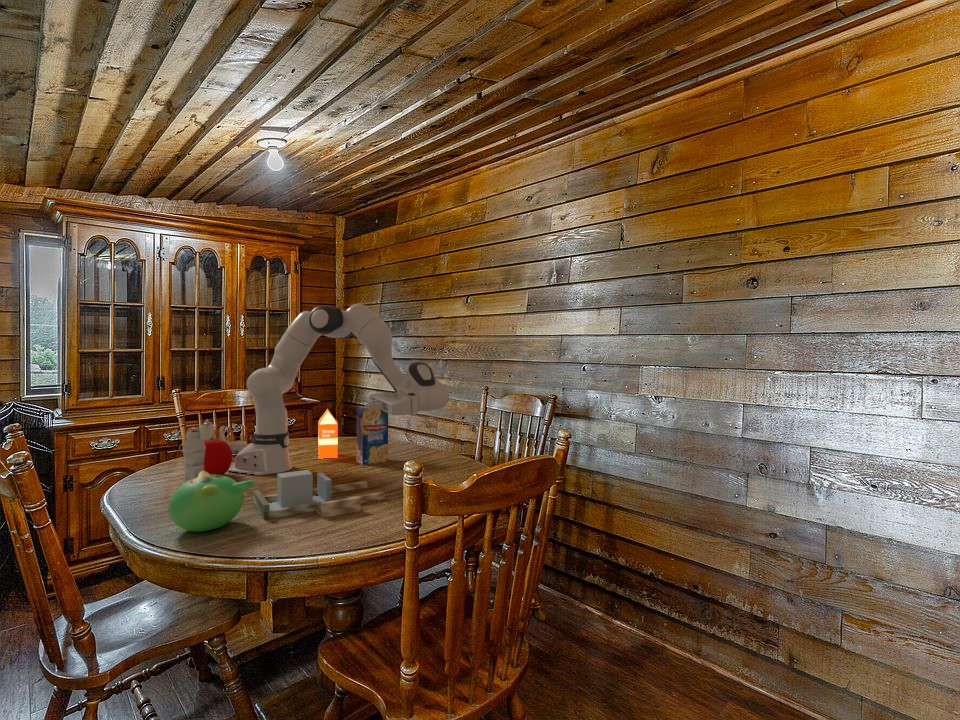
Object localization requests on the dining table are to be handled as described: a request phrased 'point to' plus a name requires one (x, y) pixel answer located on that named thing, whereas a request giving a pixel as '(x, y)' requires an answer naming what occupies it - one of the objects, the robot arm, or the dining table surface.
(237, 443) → the chinaware
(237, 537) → the dining table surface
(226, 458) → the tomato
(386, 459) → the blue food box
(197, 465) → the plastic bottle
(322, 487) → the bookend block
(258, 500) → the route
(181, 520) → the toy bird
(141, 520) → the dining table surface
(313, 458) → the dining table surface
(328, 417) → the orange juice
